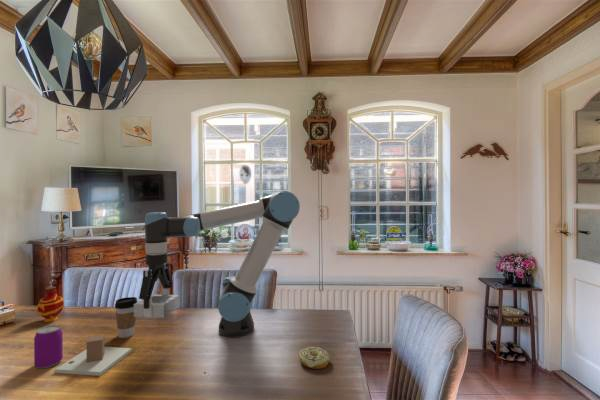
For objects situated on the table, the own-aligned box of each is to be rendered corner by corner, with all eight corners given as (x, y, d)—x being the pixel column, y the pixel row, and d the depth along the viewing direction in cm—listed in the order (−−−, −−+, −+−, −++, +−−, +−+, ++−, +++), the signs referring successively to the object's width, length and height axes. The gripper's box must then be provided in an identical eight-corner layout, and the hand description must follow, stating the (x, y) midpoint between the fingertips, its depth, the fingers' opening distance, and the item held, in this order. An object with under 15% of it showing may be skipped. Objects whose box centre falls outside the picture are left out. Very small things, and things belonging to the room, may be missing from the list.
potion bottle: (68, 318, 148) (68, 286, 148) (41, 326, 140) (41, 292, 139) (59, 313, 154) (59, 283, 154) (32, 320, 145) (32, 288, 145)
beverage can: (31, 364, 108) (31, 329, 108) (59, 355, 114) (59, 322, 114) (37, 372, 103) (36, 336, 103) (65, 362, 109) (65, 328, 109)
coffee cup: (127, 340, 126) (127, 303, 126) (109, 338, 128) (109, 301, 128) (142, 331, 135) (142, 296, 134) (125, 329, 136) (125, 295, 136)
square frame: (179, 306, 125) (179, 294, 125) (164, 317, 113) (163, 305, 113) (151, 305, 126) (151, 294, 126) (133, 316, 114) (133, 304, 114)
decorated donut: (311, 374, 103) (311, 363, 103) (293, 360, 112) (293, 349, 112) (335, 365, 109) (335, 354, 109) (316, 352, 118) (316, 342, 118)
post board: (131, 351, 117) (131, 329, 117) (100, 375, 101) (100, 350, 101) (91, 349, 119) (91, 327, 119) (54, 372, 103) (54, 347, 103)
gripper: (163, 247, 131) (164, 299, 132) (126, 259, 108) (127, 322, 108) (180, 248, 131) (181, 300, 131) (147, 259, 107) (148, 323, 107)
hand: (157, 310), depth 119 cm, fingers closed on square frame, 11 cm apart
